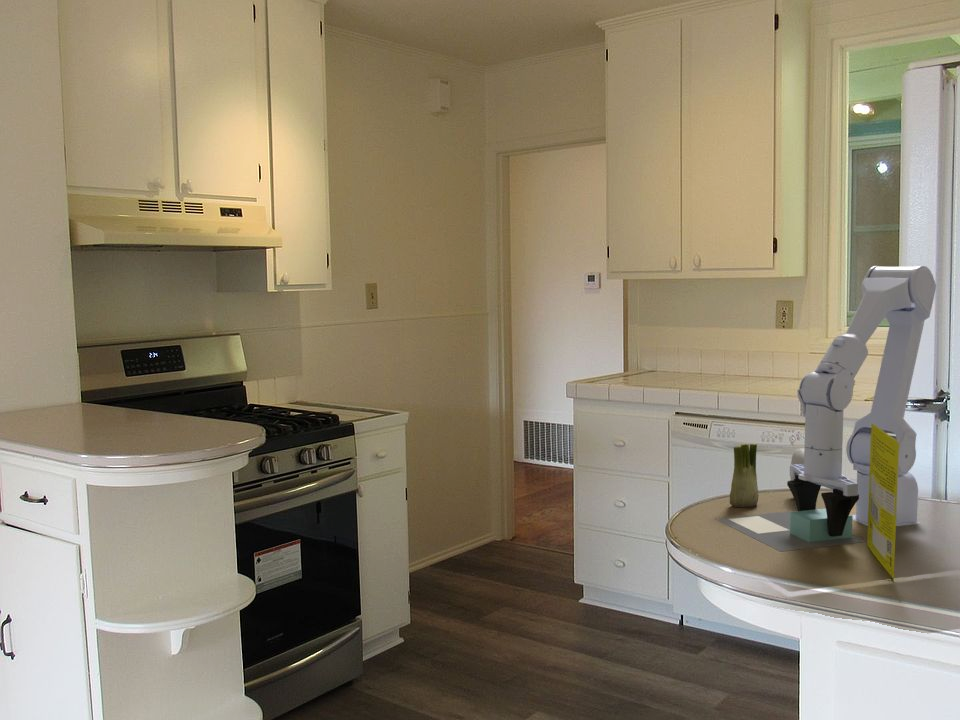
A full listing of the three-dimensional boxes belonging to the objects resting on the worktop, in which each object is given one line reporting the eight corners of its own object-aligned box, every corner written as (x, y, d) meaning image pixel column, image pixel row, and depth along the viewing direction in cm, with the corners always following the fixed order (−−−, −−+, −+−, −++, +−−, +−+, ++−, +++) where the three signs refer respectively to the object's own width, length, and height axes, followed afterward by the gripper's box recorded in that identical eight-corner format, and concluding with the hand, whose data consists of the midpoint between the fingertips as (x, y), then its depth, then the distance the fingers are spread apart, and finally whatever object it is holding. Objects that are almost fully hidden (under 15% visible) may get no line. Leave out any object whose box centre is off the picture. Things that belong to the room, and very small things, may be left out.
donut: (815, 507, 167) (816, 454, 166) (795, 507, 168) (796, 453, 167) (807, 494, 177) (808, 443, 176) (788, 493, 178) (789, 443, 177)
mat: (794, 514, 164) (794, 510, 163) (867, 544, 145) (867, 540, 145) (714, 522, 159) (714, 518, 159) (780, 555, 141) (780, 551, 141)
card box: (831, 528, 152) (832, 507, 152) (851, 537, 147) (852, 515, 147) (790, 533, 150) (790, 512, 150) (809, 542, 145) (810, 520, 145)
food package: (897, 583, 128) (902, 442, 126) (889, 582, 128) (894, 442, 126) (870, 549, 143) (875, 423, 141) (863, 549, 143) (867, 423, 141)
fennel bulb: (753, 503, 171) (754, 440, 170) (765, 510, 166) (766, 445, 165) (723, 505, 170) (724, 441, 169) (734, 512, 165) (735, 446, 164)
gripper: (774, 440, 153) (773, 519, 154) (831, 457, 139) (829, 544, 141) (810, 437, 155) (808, 515, 156) (870, 454, 141) (867, 540, 143)
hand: (820, 529), depth 149 cm, fingers open, 7 cm apart
